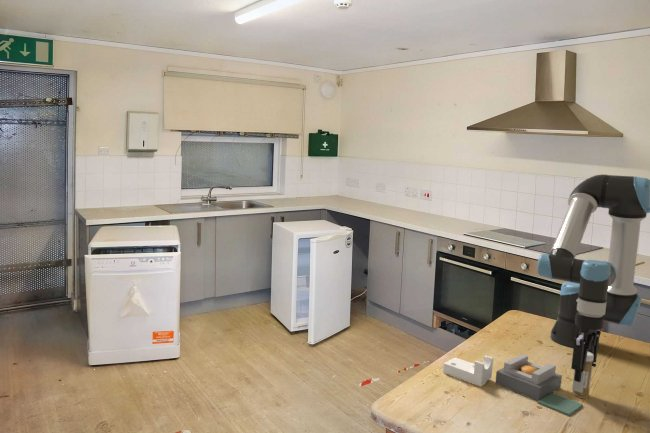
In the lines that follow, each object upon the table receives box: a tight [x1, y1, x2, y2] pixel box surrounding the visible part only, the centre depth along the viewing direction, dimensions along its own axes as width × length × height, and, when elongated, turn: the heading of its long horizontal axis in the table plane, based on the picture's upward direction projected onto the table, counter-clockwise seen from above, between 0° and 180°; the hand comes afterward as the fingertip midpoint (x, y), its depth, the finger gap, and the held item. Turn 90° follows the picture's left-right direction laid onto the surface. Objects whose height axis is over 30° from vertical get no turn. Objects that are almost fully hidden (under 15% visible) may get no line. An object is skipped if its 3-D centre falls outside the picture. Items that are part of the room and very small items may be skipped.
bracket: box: [442, 354, 494, 387], centre depth 172 cm, size 13×7×8 cm, turn 48°
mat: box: [537, 392, 584, 417], centre depth 156 cm, size 9×9×1 cm
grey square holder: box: [495, 353, 563, 402], centre depth 167 cm, size 14×14×7 cm
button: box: [521, 365, 538, 375], centre depth 167 cm, size 5×5×3 cm
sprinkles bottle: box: [571, 351, 594, 399], centre depth 162 cm, size 5×5×14 cm
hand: (581, 388), depth 162 cm, fingers closed on sprinkles bottle, 4 cm apart
